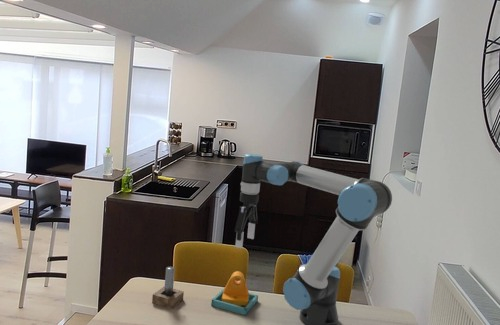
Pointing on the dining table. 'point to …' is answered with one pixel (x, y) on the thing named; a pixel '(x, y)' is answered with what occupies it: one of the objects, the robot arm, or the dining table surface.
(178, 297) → the tan square sleeve
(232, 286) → the bracket
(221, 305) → the tray
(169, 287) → the pin
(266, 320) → the dining table surface
